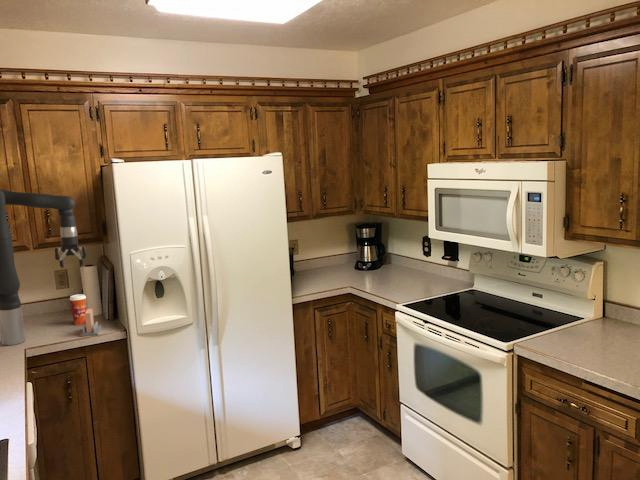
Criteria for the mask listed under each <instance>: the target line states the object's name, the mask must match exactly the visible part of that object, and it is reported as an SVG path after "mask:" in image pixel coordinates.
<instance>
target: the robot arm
mask: <svg viewBox="0 0 640 480" xmlns="http://www.w3.org/2000/svg"><path fill="white" fill-rule="evenodd" d="M6 205H12V206H22V207H30V208H35V209H36V208H37V209H55V210H57V211H58V215H59V224H60V225H59V226H60V227H59V228H60V231H59V232H60V240H61V241H60V242H61V243H60V244H61V247H55V248H54V259H55V260H57V261H58V262H59V267H61V269H64V267H65V263H64V260H63V259H64V258H65V257H67V256H76V257H77V258H78V261H79V264H78V265H79V267H80V268H81V267H83V266H84V259H85V258H87V250H86V246H85V245H82V246H79V241H78V230H77V224H76V223H77V222H76V217H75V214H74V212H73V210H74V208H75V206H76V201H75V199H74V198H73V197H71V196H69V195H55V194H53V195H52V194H49V193H41V192H38V193H37V192H19V191H18V192H17V191H11V190H6V189H1V188H0V339H1V346H15V345H18V344H21V343H24V342H25V341H26V336H25V328H24V327H25V326H24V319H23V317H24V316H23V310H22V302H21V299H20V297H19V291H20V287H21V283H20V279H19V276H18V273H17V269H16V262H15V254H14V253H15V252H14V247H13V240H12V234H11V229H10V225H9V221H8V218H7V211H6ZM79 250H80V251H81V252H82V255H81V253H80V252H79ZM60 252H63V253H62V254H61V256H60V255H59V254H60Z"/></svg>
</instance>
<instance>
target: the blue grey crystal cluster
mask: <svg viewBox="0 0 640 480" xmlns="http://www.w3.org/2000/svg"><path fill="white" fill-rule="evenodd" d="M101 328H102V325H98V321H95V322H94V327H93V331H92V333H87V330H86V324H84V327H83V329H82V331H81V332H80V334H79V336H80V338H82V337H90V336H91V337H92V336H98V335H99V333H100V331H101Z"/></svg>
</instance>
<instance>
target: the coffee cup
mask: <svg viewBox="0 0 640 480" xmlns="http://www.w3.org/2000/svg"><path fill="white" fill-rule="evenodd" d="M69 297H70V298H69V301H70V307H71V312H72V318H73V323H74V325H77V326H78V325H85V324H86V320H85V312H86V311H87V303H86V299H87V296H86V295H85V294H83V293H81V294H80V293H79V294H73V295H70V296H69Z"/></svg>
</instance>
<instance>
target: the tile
mask: <svg viewBox="0 0 640 480" xmlns="http://www.w3.org/2000/svg"><path fill="white" fill-rule="evenodd" d="M85 320H86V323H85V325H86V330H87V333H92V331H93V327H94V325H95V321H94V311H93V308H86V312H85Z"/></svg>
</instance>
